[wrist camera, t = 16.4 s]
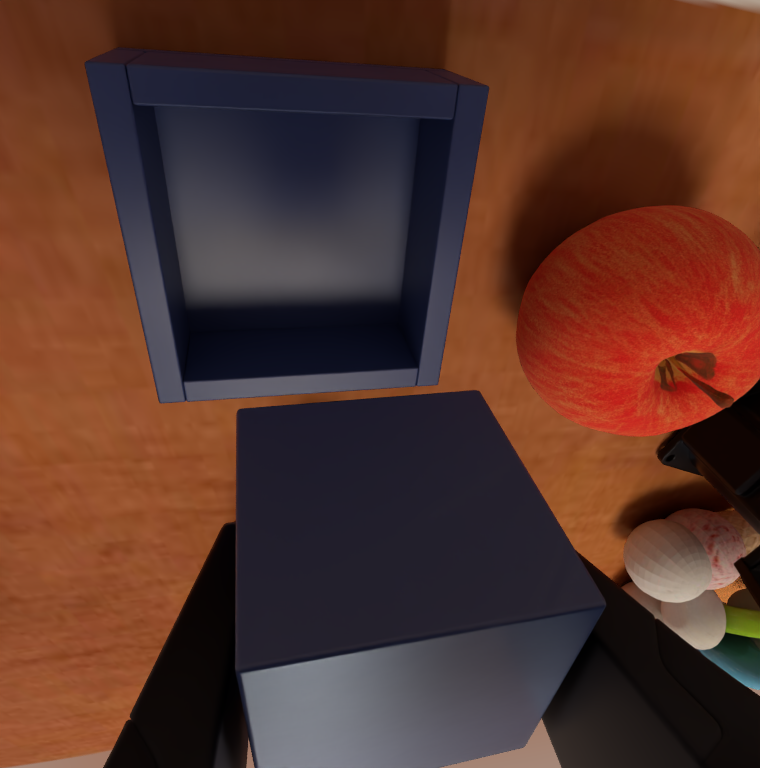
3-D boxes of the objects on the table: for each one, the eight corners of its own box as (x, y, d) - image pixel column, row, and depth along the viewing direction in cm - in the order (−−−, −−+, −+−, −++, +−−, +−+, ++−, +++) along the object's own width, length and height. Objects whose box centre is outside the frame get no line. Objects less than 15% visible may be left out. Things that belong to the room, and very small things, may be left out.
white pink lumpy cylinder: (866, 551, 32) (662, 632, 29) (790, 511, 37) (606, 578, 34) (879, 485, 31) (665, 564, 28) (798, 452, 35) (606, 517, 32)
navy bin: (445, 68, 16) (490, 86, 13) (411, 332, 21) (438, 385, 18) (116, 46, 14) (83, 60, 11) (171, 343, 19) (158, 404, 16)
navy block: (479, 388, 10) (610, 604, 6) (446, 537, 13) (526, 748, 9) (235, 407, 9) (234, 672, 6) (255, 564, 12) (262, 811, 8)
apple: (711, 181, 20) (930, 269, 13) (631, 359, 24) (766, 486, 18) (517, 172, 18) (665, 269, 12) (472, 366, 23) (560, 509, 16)
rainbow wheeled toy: (593, 577, 39) (599, 689, 36) (713, 575, 31) (734, 720, 28) (678, 590, 42) (690, 695, 39) (810, 591, 33) (838, 725, 30)
